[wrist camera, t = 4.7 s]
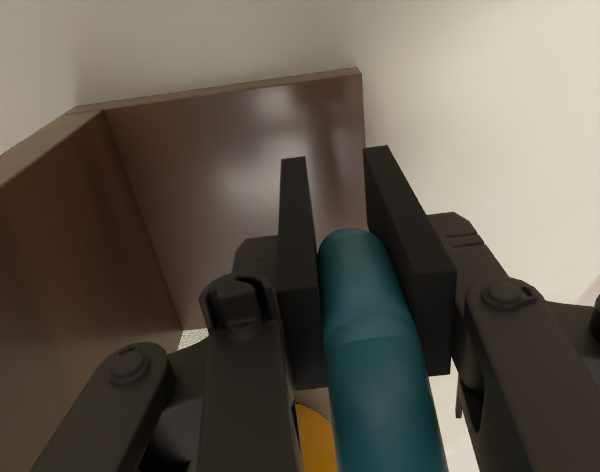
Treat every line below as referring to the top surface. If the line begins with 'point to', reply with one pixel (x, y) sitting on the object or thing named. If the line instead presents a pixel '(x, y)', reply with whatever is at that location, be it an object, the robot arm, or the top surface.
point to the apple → (316, 441)
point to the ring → (374, 361)
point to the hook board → (150, 224)
